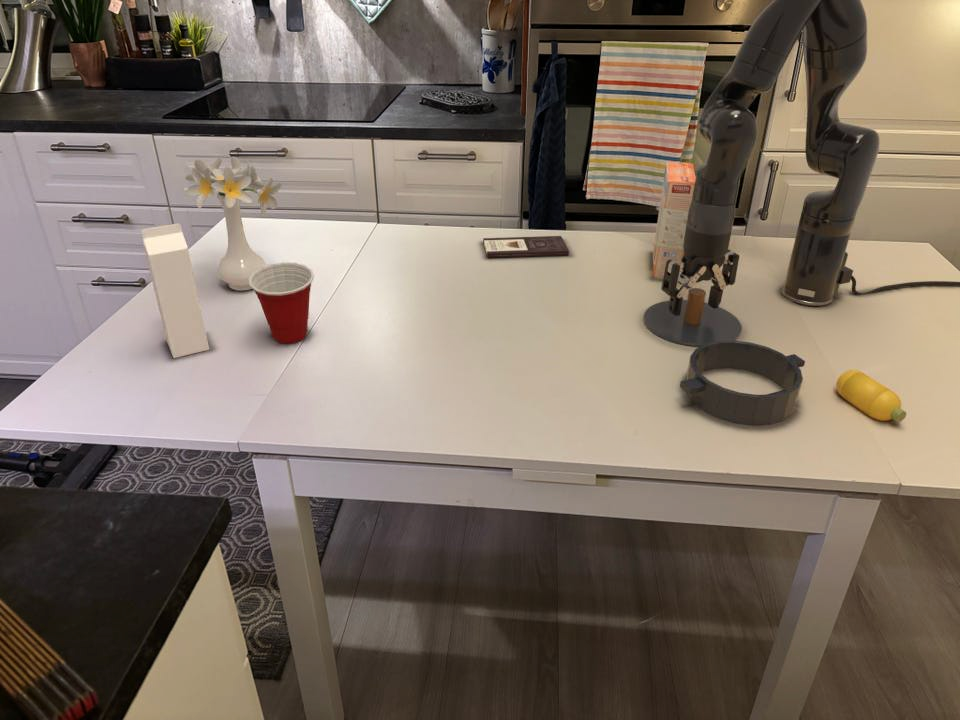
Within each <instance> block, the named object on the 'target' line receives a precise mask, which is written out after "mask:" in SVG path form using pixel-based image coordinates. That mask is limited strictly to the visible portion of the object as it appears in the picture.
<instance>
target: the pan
mask: <svg viewBox="0 0 960 720" xmlns="http://www.w3.org/2000/svg"><path fill="white" fill-rule="evenodd" d="M805 365H806V360H804V359H803V358H801V357H800V356H798V355H797V354H796V353H793V354H790V355H789V354H788V355H785V354H784V353H782V352H780V351H778V350H776V349H773V348H771V347H769V346H766V345H762V344H758V343H754V342H750V341H742V340H735V341H734V340H732V341H716V342H711V343H707V344H704V345H702V346H700V347H696V348H695V349H694V350H693V352H692V353H691V354H690V356H689V360H688V367H687V372H686V378H685V379H683V380H681V381H680V383H679V388H680V389H682V390H683V391H684V392H685V393H686V395H687V396H688V398H689V400H690V401H691V402H692V403H693V404H694V405H695V406H696V407H698V409H700V410H701V411H703V413H706V414H708V415H709V416H712V417H714V418H716V419H718V420H722V421H725V422H728V423H731V424H737V425H743V426H769V425H772V424H778V423H780V422H783V421H784V420H787V418H789V417H790V416H792V415H793V412H794V411H795V409H796V405H797V402H798V398H799V394H800V392H801V388H802V385H803V384H802V383H803V380H804V378H803V374H802V370H801V369H800V368H802V367H805ZM719 369H720V370H721V369H731V370H740V371H746V372H749V373H752V374H755V375H756V374H757V375H759V376H761V377H763V378H766V379H768V380H769V381H772V382H773V383H775V384H777V386H779V387H781V388H782V390H778V391H774V392H771V393H767V394H753V393H746V392H739V391H735V390H732V389H729V388H727V387H726V388H725V387H723V386H721V385H719V384H717V383H715V382H713V381H711V380H709V379H708V378H707V377H705V376H704V375H703V374H702V373H703V372H707V371H712V370H719Z"/></svg>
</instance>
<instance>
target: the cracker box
mask: <svg viewBox="0 0 960 720" xmlns="http://www.w3.org/2000/svg"><path fill="white" fill-rule="evenodd" d="M695 179H696V173H695V165H694V163H691V162H680V161H666V163H665V169H664V175H663V181H662V187H661V195H660V202H659V209H658V216H657V222H656V228H655V236H654V242H653V247H652V248H653V249H652V277H653V278H657V279H663V277H664V272H665V267H666V262H667V261H668V260H669V259H671V260H672V261H674V262H675V261H681V260H682V258H683V256H684V249H683V243H684V236H685V230H686V224H687V218H688V212H689V208H690V204H691V201H692V197H693V191H694V185H695ZM681 270H682V269H681Z"/></svg>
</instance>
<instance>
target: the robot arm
mask: <svg viewBox="0 0 960 720" xmlns="http://www.w3.org/2000/svg"><path fill="white" fill-rule="evenodd" d="M801 33H802V49H803V63H804V70H805V71H804V72H805V84H806V85H805V86H806V124H805V125H806V129H805V147H804V148H805V160H806V162H807V166H808V167H809V169H810V170H812V171H813V172H815V173H818V174H821V175H824V176H828V177H831V178H836V179H838V180H837V182H836V185H835V188H833V189H825V190H817V191H816V190H815V191H812V192H810V193H807V195H806V196H805V198H804V201H803V204H802V207H801V208H802V209H801V212H800V217H799V222H798V225H797V230H796V234H795V238H794V241H793V246H792V251H791V254H790V258H789V263H788V266H787V270H786V275H785V278H784V279H785V280H784V283H783V286H782V288H781V294H782V295H783V296H784V298H786V299H787V300H789V301H791V302H794V303H796V304H799V305H803V306H810V307H811V306H812V307H818V306H819V307H821V306H827V305H830V304H831V303H832V302H833V300H834V299H837V295H838V292H839V288H840V285H844V284H848V283H851V292H852V294H854V295H855V296H864V295H871V294H876V293H878V292H881V291H884V290H890V289H897V288H903V287H904V288H905V287H913V286H939V285H940V286H943V285H944V286H960V281H948V280H947V281H945V280H942V281H941V280H929V281H927V280H926V281H912V282H903V283H896V284H889V285H883V286H880V287H877V288H874V289H872V290H870V291H867V292H859V291H857V289H856V288H857V279H856V278H855V276H854V275H853V273H854V269H852V268H849V267H848V266H846V264H847V260H848V257H849V253H848V252H847V251H846V250H847V247H848V244H849V241H850V237H851V234H852V230H853V226H854V223H855V219H856V216H857V212H858V209H859V207H860V205H861V203H862V201H863V199H864V196H865V194H866V191H867V186H868V184H869V181H870V178H871V175H872V172H873V169H874V166H875V164H876V161H877V158H878V154H879V150H880V144H881V141H880V135H879V133H878V132H877V131H876V130H874V129H872V128H868V127H864V126H860V125H856V124H850V123H845V122H842V121H841V119H840V117H839V103H840V99H841V98H842V96H843V94H844V93H845V92H846V91H847V89H848V88H849V87H850V85H851V84H852V83H853V82H854V80H855V79H856V78H857V76H858V75H859V73H860V72H861V71H862V68H863V67H864V64H865V63H866V60H867V55H868V20H867V13H866V10H865V7H864V5H863V2H862V0H772V1H771V2H770V3H769V4H768V5H767V6H766V7H765V8H764V9H763V10H762V11H761V13H760V14H759V15H758V16H757V17H756V18H755V20H754V21H753V23H752V24H751V26H750V27H749V29H748V31H747V33H746V34H745V37H744V39H743V40H742V43H741V45H740V47H739V49H738V51H737V53H736V55H735V58H734V60H733V62H732V64H731V67H730V69H729V70H728V72H727V73H726V74H725V75H724V76H723V78H721V80H720V82H719V83H718V85H717V86H716V88H715V89H714V90H713V92H712V93H711V94H710V96H709V97H708V99H707V100H706V101H705V104H704V106H703V108H702V110H701V113H700V116H699V120H698V130H699V133H700V135H701V137H702V139H704V141H706V142H708V143H709V144H710V150H709V154H708V157H707V161H704V162H703V163H702V164H700V165H699V166H698V169H697V171H696V173H695V177H696V179H695V185H694V191H693V197H692V201H691V204H690V208H689V212H688V218H687V224H686V230H685V236H684V243H683V249H684V256H683V258H682V260H681V261H675V262H674V261H672V260H671V259H669V260H668V261H667V262H666V267H665V272H664V277H663V278H662V281H661V282H662V283H661V288H660V289H661V292H663V293H665V294H666V295H667V296H669V300H668V301H669V307H668V308H669V311H670V312H671V313H672V314H673V315H675V316H679V315H680V313H681V307H682V301H683V300H684V295H685V294H686V293H687V291H689V289H691V288H693V287H694V286H695V284H697V283H701V282H703V281H706V282H707V281H711V284H712V285H711V286H710V289H709V294H708V299H707V303H708V305H709V306H711V307H712V308H714V309H715V308H718V307H720V305H721V303H722V298H723V294H724V290H725V289H726V288H727V287H728V286H733V285H734V284H735V283H736V279H737V273H738V267H739V261H740V255H739V254H738V253H736V252H734V251H733V250H731V249H729V246H730V242H731V238H732V232H733V227H734V222H735V221H734V220H735V217H736V204H737V200H738V199H737V198H738V194H739V189H740V188H739V187H740V183H741V177H742V174H743V173H744V170H745V169H746V166H747V165H748V162H749V160H750V157H751V155H752V152H753V150H754V148H755V146H756V145H755V144H756V142H757V141H756V140H757V135H758V125H757V124H758V123H757V119H756V116H755V115H754V114H753V112H751V110H749V107H750V106H751V104H752V103H753V102H754V100H755V99H756V97H757V96H758V95H760V94H765V93H768V92H769V91H770V90H771V89H772V88H773V87H774V85H775V83H776V81H777V80H778V76H779V75H780V73H781V72H782V71H783V70H782V69H783V67H784V66H785V63H786V62H787V60H788V58H789V56H790V54H791V52H792V50H793V49H794V46H795V44H796V42H797V40H798V39H799V37H800V35H801ZM721 267H722V269H721ZM681 269H682V270H681ZM685 277H686V278H687V279H688V280H686V279H685Z"/></svg>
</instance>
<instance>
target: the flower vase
mask: <svg viewBox="0 0 960 720" xmlns="http://www.w3.org/2000/svg"><path fill="white" fill-rule="evenodd" d="M246 162H247V166H244V167H243V168H242V169H241V163H240V161H239V159H238V158H237V157H236V156H231V157H230V164H231V168H230V167H229V166H225V167H224V168H223V170H222V169H219V168H220V166H221V165H222V158H220V157H218V158H215V159H214V160H213V161H211V163H210V164H209V166H208V164H207V163H206V162H205V161H204V160H203V159H200V158H197V159H195V160H194V167H193V168H192V169H191V173H190V174H187V175H186V176H185V180H186V181H188V182H195V184H192V185H190V186H189V187H188V188H186V196H189V197H195V196H196V197H197V200H196V206H197V208H198V209H202V208H203V206H204V204H205V202H206V200H207V198H208V197H210V198H212V197H213V196H214V194H215V192H217V194H216V198H217V199H218V200H219V203H220V205H221V207H222V211H223V214H224V218H225V219H224V220H225V223H226V225H225V226H226V233H227V248H226V252H225V255H224V256H223V257H222V258H221V260H220V261H219V263H218V267H217V274H218V277H220V279H221V281H223V282H225V283H226V284H227V285H228V287H229V288H230V289H231V290H233V291H234V290H235V291H238V292H239V291H242V292H243V291H249V290H253V289H252V288H251V286H250V283H249V278H250V276H251V275H252V273H254V272H255V271H256V270H258V269H259V268H262V267H264V266H267V264H266V262H265V260H264V258H263V257H262V256H261V255H260V254H258V253H257V252H255V251H254V250H253V249H252V247H251V246H250V245H249V242H248V239H247V237H246V234H245V229H244V225H243V224H244V223H243V219H242V214H241V213H242V211H241V202H243V203H245V204H252V202H254V201H253V198H252V196H251V195H250V193H248V192H253V193H255V194H257V195H258V198H257V203H258V204H259V208H260V216H261V217H262V218H264V217H265V216H266V214H267V208H268V207H269V208H270V209H271V210H275V209H276V208H278V202H277V199H276V198H275V197H274V196H273V195H275V194H276V193H278V192H279V191H280V190H281V188H282V186H283V185H282V182H277V183H275V184H273V177H270V178H269V179H268V180H267V181H266V183H265V185H264V183H262V179H261V177H260V176H259V174H258V173H257V172H256V167H255V166H254V165H251V164H250V162H249V160H248V159H246ZM267 206H268V207H267Z"/></svg>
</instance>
